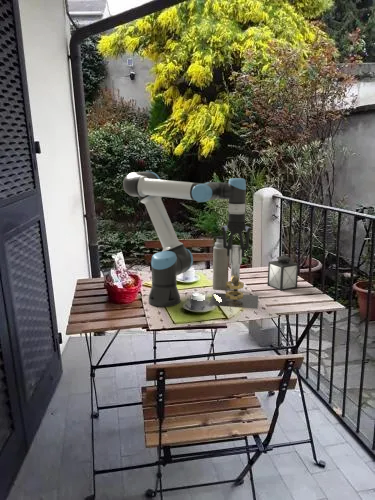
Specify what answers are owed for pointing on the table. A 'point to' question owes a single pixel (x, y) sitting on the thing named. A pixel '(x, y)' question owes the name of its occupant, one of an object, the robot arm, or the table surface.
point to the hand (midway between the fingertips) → (235, 263)
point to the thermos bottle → (220, 265)
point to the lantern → (282, 273)
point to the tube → (235, 264)
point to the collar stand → (235, 298)
